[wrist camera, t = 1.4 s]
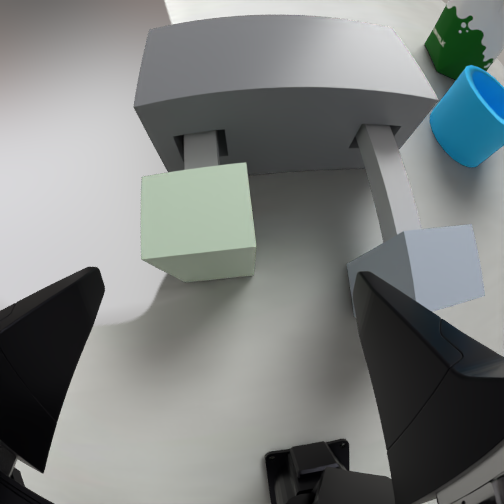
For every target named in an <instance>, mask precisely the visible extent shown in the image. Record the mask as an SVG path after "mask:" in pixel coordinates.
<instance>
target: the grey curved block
mask: <svg viewBox="0 0 504 504" xmlns="http://www.w3.org/2000/svg"><path fill="white" fill-rule="evenodd" d="M438 100H439V99H438V98H437V96H436V94H435V92H434V90H433V89H432V87H431V85H430V83H429V82H428V80H427V78H426V77H425V75H424V73H423V72H422V70H421V68H420V67H419V65H418V64H417V62H416V60H415V59H414V57H413V56H412V54H411V53H410V51H409V50H408V49H407V47H406V46H405V44H404V43H403V41H402V40H401V39H400V37H399V36H398V35H397V33H396V32H395V30H394V29H393V28H392V27H388V26H383V25H378V24H373V23H367V22H361V21H355V20H348V19H340V18H331V17H320V16H305V15H247V16H232V17H221V18H212V19H204V20H197V21H190V22H184V23H179V24H173V25H168V26H164V27H159V28H154V29H150V30H149V33H148V37H147V41H146V45H145V49H144V54H143V58H142V64H141V68H140V73H139V78H138V84H137V89H136V95H135V101H134V109H135V111H136V113H137V115H138V116H139V118H140V120H141V122H142V124H143V126H144V128H145V130H146V132H147V134H148V136H149V137H150V139H151V141H152V143H153V145H154V147H155V149H156V150H157V152H158V154H159V156H160V158H161V160H162V162H163V164H164V165H165V167H166V169H167V171H168V172H174V171H181V170H184V135H185V134H192V133H198V132H206V131H213V130H217V134H218V147H219V160H220V165H226V164H236V163H245V162H246V165H247V174H248V175H257V174H268V173H280V172H294V171H310V170H329V169H358V168H365V165H364V162H363V159H362V155H361V152H360V149H359V146H358V143H357V140H356V136H355V135H356V133H357V132H358V130H359V128H360V126H361V124H379V125H390V128H391V130H392V133H393V136H394V138H395V141H396V144H397V146H398V149H400V148H401V147H402V145H403V144H404V143H405V142H406V141H407V139H408V138H409V137H410V136H411V134H412V133H413V132H414V131H415V129H416V128H417V127H418V126H419V124H420V123H421V122H422V121H423V119H424V118H425V117H426V116H427V114H428V113H429V112H430V111H431V109H432V108H433V107H434V105H435V104H436V103H437V102H438Z"/></svg>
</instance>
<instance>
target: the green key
mask: <svg viewBox="0 0 504 504" xmlns="http://www.w3.org/2000/svg"><path fill="white" fill-rule="evenodd" d="M255 257H256V239H255V231H254V223H253V214H252V206H251V198H250V190H249V182H248V174H247V165H246V162H245V163H236V164H226V165H220V160H219V147H218V134H217V130H213V131H206V132H198V133H192V134H185V135H184V170H181V171H174V172H168V173H162V174H156V175H150V176H144V177H142V185H141V259H142V260H143V261H145V262H147V263H149V264H151V265H153V266H155V267H157V268H158V269H161V270H162V271H164V272H166V273H168V274H170V275H172V276H174V277H176V278H178V279H180V280H182V281H183V282H195V281H205V280H215V279H225V278H234V277H243V276H252V275H254V268H255Z"/></svg>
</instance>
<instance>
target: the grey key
mask: <svg viewBox="0 0 504 504" xmlns="http://www.w3.org/2000/svg"><path fill="white" fill-rule="evenodd" d="M355 136H356V140H357V143H358V146H359V149H360V152H361V155H362V159H363V162H364V165H365V169H366V172H367V176H368V179H369V183H370V187H371V191H372V195H373V198H374V203H375V207H376V211H377V215H378V219H379V224H380V228H381V233H382V238H383V244H381V245H379V246H377V247H376V248H374V249H372V250H370V251H369V252H367V253H365V254H363V255H362V256H360V257H358V258H356V259H355V260H353V261H351V262H349V263H347V270H348V277H349V283H350V290H351V297H352V305H353V313H354V317H356V314H355V308H354V303H353V289H354V284H355V280H356V275H357V273H358V272H359V271H370V272H372V273H373V274H375V275H376V276H378V277H379V278H381V279H383V280H384V281H386V282H387V283H389V284H390V285H392V286H394V287H395V288H397V289H398V290H400V291H401V292H403V293H404V294H406V295H407V296H409V297H410V298H412V299H414V300H415V301H417V302H418V303H420V304H421V305H423V306H424V307H426V308H427V309H429V310H430V311H436V310H439V309H443V308H446V307H450V306H453V305H457V304H460V303H463V302H467V301H470V300H473V299H476V298H479V297H482V296H485V292H484V284H483V278H482V271H481V265H480V260H479V255H478V250H477V245H476V240H475V236H474V231H473V227H472V224H468V225H458V226H448V227H438V228H428V229H422V227H421V222H420V218H419V214H418V210H417V207H416V203H415V199H414V196H413V192H412V189H411V185H410V182H409V179H408V176H407V173H406V169H405V166H404V163H403V160H402V158H401V155H400V152H399V149H398V146H397V144H396V141H395V138H394V136H393V133H392V130H391V128H390V125H379V124H361V126H360V128H359V130H358V132H357V133H356V135H355Z"/></svg>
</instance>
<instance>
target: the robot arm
mask: <svg viewBox="0 0 504 504" xmlns="http://www.w3.org/2000/svg"><path fill="white" fill-rule="evenodd" d="M104 292H105V286H104V283H103V280H102V276H101V273H100V270H99V269H98V268H97V267H87V268H85V269H82V270H81V271H78V272H76V273H74V274H72V275H70V276H68V277H66V278H64V279H62V280H60V281H58V282H55V283H54V284H51V285H50V286H47V287H45V288H43V289H41V290H39V291H37V292H36V293H34V294H32V295H30V296H28V297H26V298H24V299H22V300H20V301H18V302H17V303H14V304H13V305H11V306H9V307H7V308H5V309H3V310H1V311H0V504H54V503H52V502H50V501H48V500H47V499H45V498H43V497H41V496H39V495H38V494H36V493H34V492H33V491H31V490H29V489H28V488H26V487H25V485H24V482H23V479H22V476H21V473H20V471H19V470H17V469H16V468H15V467H14V466H15V464H16V461H17V459H18V460H20V461H21V462H23V463H25V464H27V465H28V466H30V467H32V468H34V469H35V470H37V471H39V472H41V473H44V470H45V466H46V462H47V458H48V454H49V450H50V446H51V442H52V439H53V435H54V432H55V428H56V425H57V421H58V418H59V415H60V411H61V408H62V405H63V402H64V399H65V396H66V393H67V391H68V388H69V385H70V382H71V379H72V377H73V374H74V371H75V369H76V366H77V364H78V361H79V358H80V356H81V353H82V351H83V349H84V346H85V344H86V341H87V339H88V337H89V334H90V332H91V330H92V327H93V324H94V321H95V319H96V315H97V312H98V310H99V306H100V304H101V301H102V298H103V295H104ZM353 303H354V308H355V314H356V320H357V326H358V332H359V337H360V341H361V344H362V348H363V351H364V355H365V359H366V362H367V366H368V370H369V374H370V378H371V382H372V385H373V390H374V394H375V398H376V402H377V406H378V411H379V415H380V420H381V424H382V429H383V434H384V439H385V444H386V449H387V455H388V460H389V466H390V472H391V478H392V480H391V479H390V478H388V477H386V476H379V475H372V474H365V473H359V472H353V471H349V443H348V441H347V440H346V439H339V440H335V441H330V442H324V441H322V442H317V443H312V444H307V445H301V446H295V447H292V448H291V449H287V450H279V451H272V452H268V453H267V454H266V455H265V460H266V468H267V476H268V483H269V491H270V498H271V504H422V503H425V502H428V501H430V500H433V499H436V498H437V503H438V504H504V357H503V356H501V355H499V354H497V353H496V352H494V351H492V350H491V349H489V348H488V347H486V346H484V345H483V344H481V343H479V342H478V341H476V340H474V339H473V338H471V337H469V336H468V335H466V334H464V333H463V332H461V331H460V330H458V329H457V328H455V327H454V326H452V325H451V324H449V323H448V322H446V321H445V320H443V319H441V318H440V317H439V316H437V315H436V314H435V313H433V312H432V311H430V310H429V309H427V308H426V307H424V306H423V305H421V304H420V303H418V302H417V301H415V300H414V299H412V298H410V297H409V296H407V295H406V294H404V293H403V292H401V291H400V290H398V289H397V288H395V287H394V286H392V285H390V284H389V283H387V282H386V281H384V280H383V279H381V278H379V277H378V276H376V275H375V274H373V273H372V272H370V271H359V272H358V273H357V275H356V280H355V284H354V289H353ZM342 443H345V444H344V445H343V446H342V447H340V445H341V444H342ZM271 456H274V457H275V458H274V459H269V457H271Z"/></svg>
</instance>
